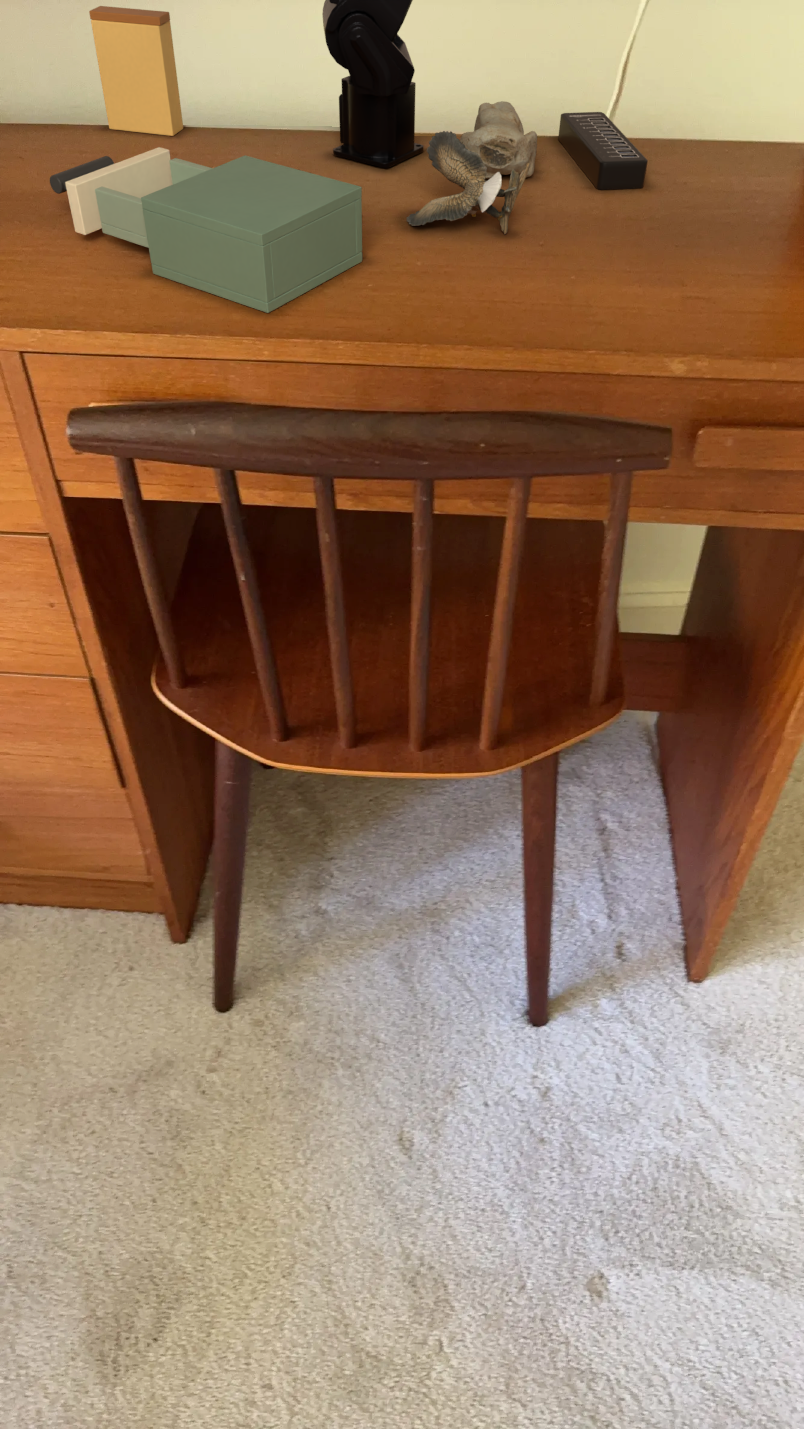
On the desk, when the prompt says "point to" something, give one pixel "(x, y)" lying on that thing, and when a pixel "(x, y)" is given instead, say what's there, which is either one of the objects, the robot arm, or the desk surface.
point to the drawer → (119, 191)
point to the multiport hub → (602, 151)
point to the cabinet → (254, 231)
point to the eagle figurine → (466, 184)
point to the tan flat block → (137, 69)
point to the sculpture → (501, 140)
